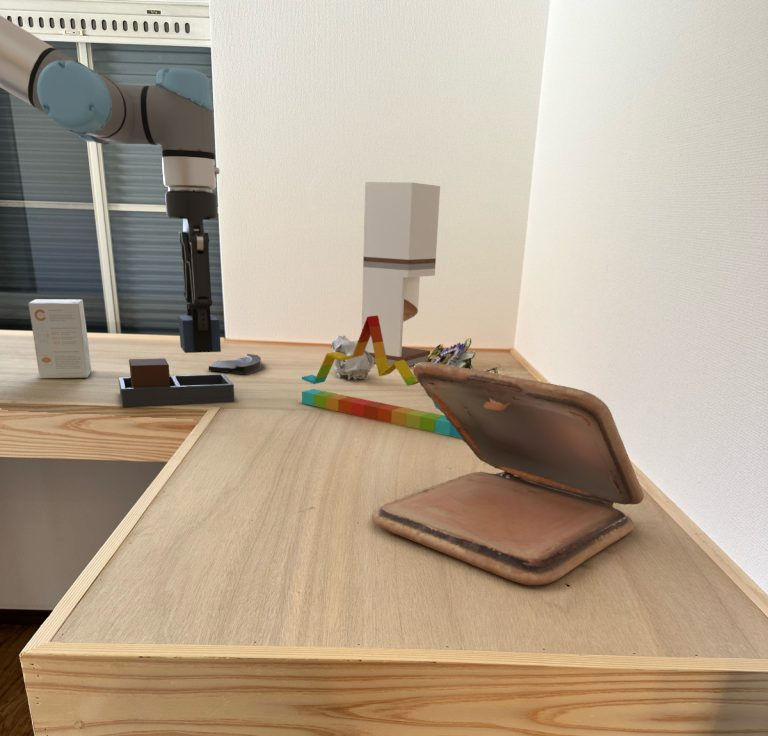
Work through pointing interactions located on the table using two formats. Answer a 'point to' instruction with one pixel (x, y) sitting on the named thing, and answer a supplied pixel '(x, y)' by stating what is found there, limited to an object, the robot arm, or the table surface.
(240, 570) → the table surface
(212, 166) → the robot arm
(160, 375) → the brown rectangular block
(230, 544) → the table surface
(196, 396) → the holder
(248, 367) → the curved wedge
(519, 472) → the case
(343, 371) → the crumpled paper
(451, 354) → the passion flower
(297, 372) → the table surface
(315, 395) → the multicoloured zigzag triangular frame
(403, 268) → the notched striped pillar
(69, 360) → the small box
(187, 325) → the pad
